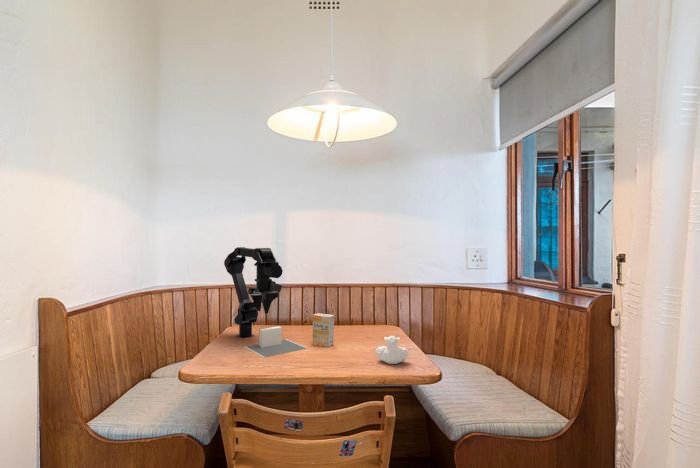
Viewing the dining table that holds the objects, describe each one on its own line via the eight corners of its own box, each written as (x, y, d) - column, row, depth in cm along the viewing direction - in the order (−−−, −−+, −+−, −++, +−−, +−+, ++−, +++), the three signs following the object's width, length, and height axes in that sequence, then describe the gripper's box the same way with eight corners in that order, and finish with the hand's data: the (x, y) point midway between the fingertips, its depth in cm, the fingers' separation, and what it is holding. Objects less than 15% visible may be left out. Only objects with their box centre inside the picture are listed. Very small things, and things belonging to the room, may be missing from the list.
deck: (258, 345, 156) (259, 329, 156) (278, 342, 162) (278, 326, 162) (262, 347, 154) (262, 330, 154) (281, 343, 159) (281, 327, 160)
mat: (243, 347, 155) (243, 346, 155) (286, 340, 167) (286, 339, 167) (263, 358, 141) (263, 357, 141) (308, 349, 153) (308, 348, 153)
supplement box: (311, 345, 159) (312, 314, 159) (317, 342, 163) (317, 312, 163) (328, 348, 155) (329, 316, 155) (334, 345, 159) (334, 314, 160)
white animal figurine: (375, 368, 138) (374, 349, 131) (376, 350, 144) (375, 331, 137) (408, 369, 136) (408, 350, 129) (408, 352, 142) (408, 333, 135)
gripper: (289, 277, 162) (289, 313, 162) (270, 274, 176) (269, 307, 176) (266, 278, 155) (265, 316, 155) (247, 275, 170) (247, 309, 169)
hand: (262, 312), depth 164 cm, fingers open, 7 cm apart
